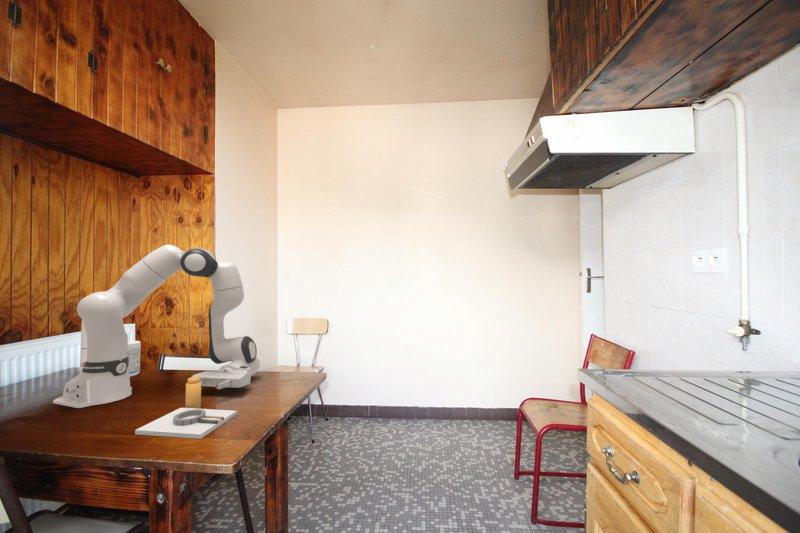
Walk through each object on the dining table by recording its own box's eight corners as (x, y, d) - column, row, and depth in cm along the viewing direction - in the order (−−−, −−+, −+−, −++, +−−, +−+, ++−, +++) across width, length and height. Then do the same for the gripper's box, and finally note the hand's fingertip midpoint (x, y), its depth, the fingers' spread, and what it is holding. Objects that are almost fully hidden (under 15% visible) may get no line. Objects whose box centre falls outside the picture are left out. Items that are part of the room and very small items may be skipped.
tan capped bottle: (182, 410, 108) (182, 379, 108) (192, 405, 112) (192, 375, 112) (194, 411, 107) (194, 380, 107) (203, 405, 111) (204, 376, 112)
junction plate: (135, 434, 91) (135, 424, 91) (180, 411, 107) (180, 402, 107) (200, 438, 88) (200, 428, 89) (237, 414, 104) (237, 406, 104)
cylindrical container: (87, 378, 142) (90, 320, 143) (75, 377, 144) (77, 320, 145) (105, 373, 149) (107, 318, 150) (93, 372, 151) (95, 318, 152)
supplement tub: (111, 375, 147) (113, 342, 148) (138, 371, 153) (139, 339, 154) (112, 380, 140) (113, 345, 140) (140, 375, 146) (141, 342, 147)
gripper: (206, 365, 131) (179, 376, 117) (254, 367, 128) (231, 378, 114) (206, 381, 130) (178, 393, 117) (253, 384, 128) (231, 396, 114)
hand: (205, 386), depth 115 cm, fingers open, 8 cm apart
